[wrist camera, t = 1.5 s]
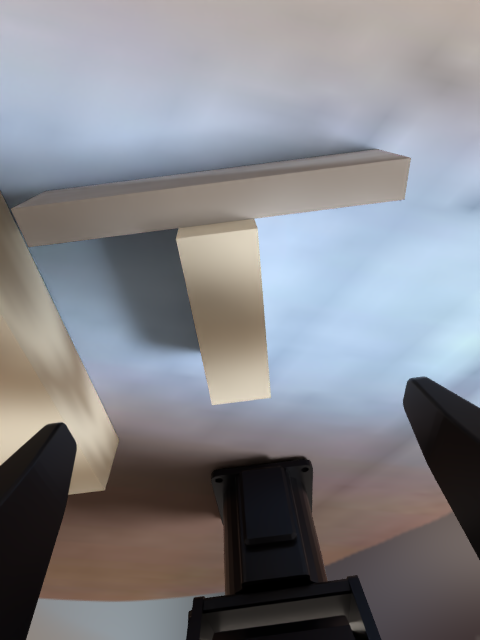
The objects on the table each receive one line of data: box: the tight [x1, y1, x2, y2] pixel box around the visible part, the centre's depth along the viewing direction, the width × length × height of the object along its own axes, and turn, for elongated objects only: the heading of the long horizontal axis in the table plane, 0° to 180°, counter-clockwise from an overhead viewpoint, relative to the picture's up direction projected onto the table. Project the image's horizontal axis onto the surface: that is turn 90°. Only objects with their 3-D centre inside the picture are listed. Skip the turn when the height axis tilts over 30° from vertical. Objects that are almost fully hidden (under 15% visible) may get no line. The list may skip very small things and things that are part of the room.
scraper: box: [11, 149, 411, 405], centre depth 13 cm, size 8×12×4 cm
